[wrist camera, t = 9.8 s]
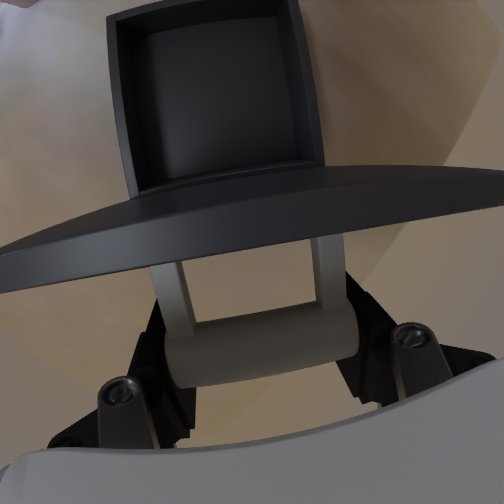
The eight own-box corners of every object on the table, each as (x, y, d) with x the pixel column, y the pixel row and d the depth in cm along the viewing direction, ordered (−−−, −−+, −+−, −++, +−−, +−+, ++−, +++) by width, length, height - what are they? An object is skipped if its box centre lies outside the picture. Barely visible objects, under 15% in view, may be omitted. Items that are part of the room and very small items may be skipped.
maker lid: (-50, 270, 4) (29, 429, 6) (523, 172, 5) (504, 338, 6) (128, 200, 20) (143, 265, 21) (327, 166, 21) (334, 232, 22)
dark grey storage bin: (125, 37, 20) (105, 16, 15) (280, 13, 21) (294, -14, 16) (148, 191, 26) (131, 204, 21) (304, 165, 27) (325, 171, 21)
